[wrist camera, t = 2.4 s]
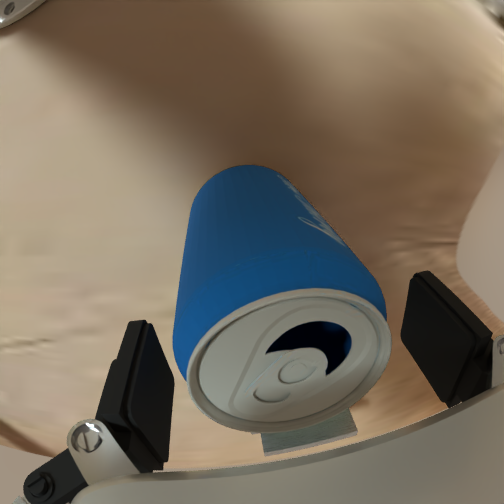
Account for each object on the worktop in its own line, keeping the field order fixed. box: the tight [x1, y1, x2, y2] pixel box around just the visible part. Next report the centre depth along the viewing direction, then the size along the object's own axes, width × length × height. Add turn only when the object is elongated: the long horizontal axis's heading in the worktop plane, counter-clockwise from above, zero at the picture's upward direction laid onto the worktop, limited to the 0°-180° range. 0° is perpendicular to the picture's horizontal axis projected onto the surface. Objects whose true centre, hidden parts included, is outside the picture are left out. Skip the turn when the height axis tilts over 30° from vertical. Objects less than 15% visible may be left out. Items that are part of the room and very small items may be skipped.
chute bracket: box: [251, 408, 358, 456], centre depth 22 cm, size 9×9×4 cm
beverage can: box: [173, 165, 392, 433], centre depth 13 cm, size 6×6×12 cm
